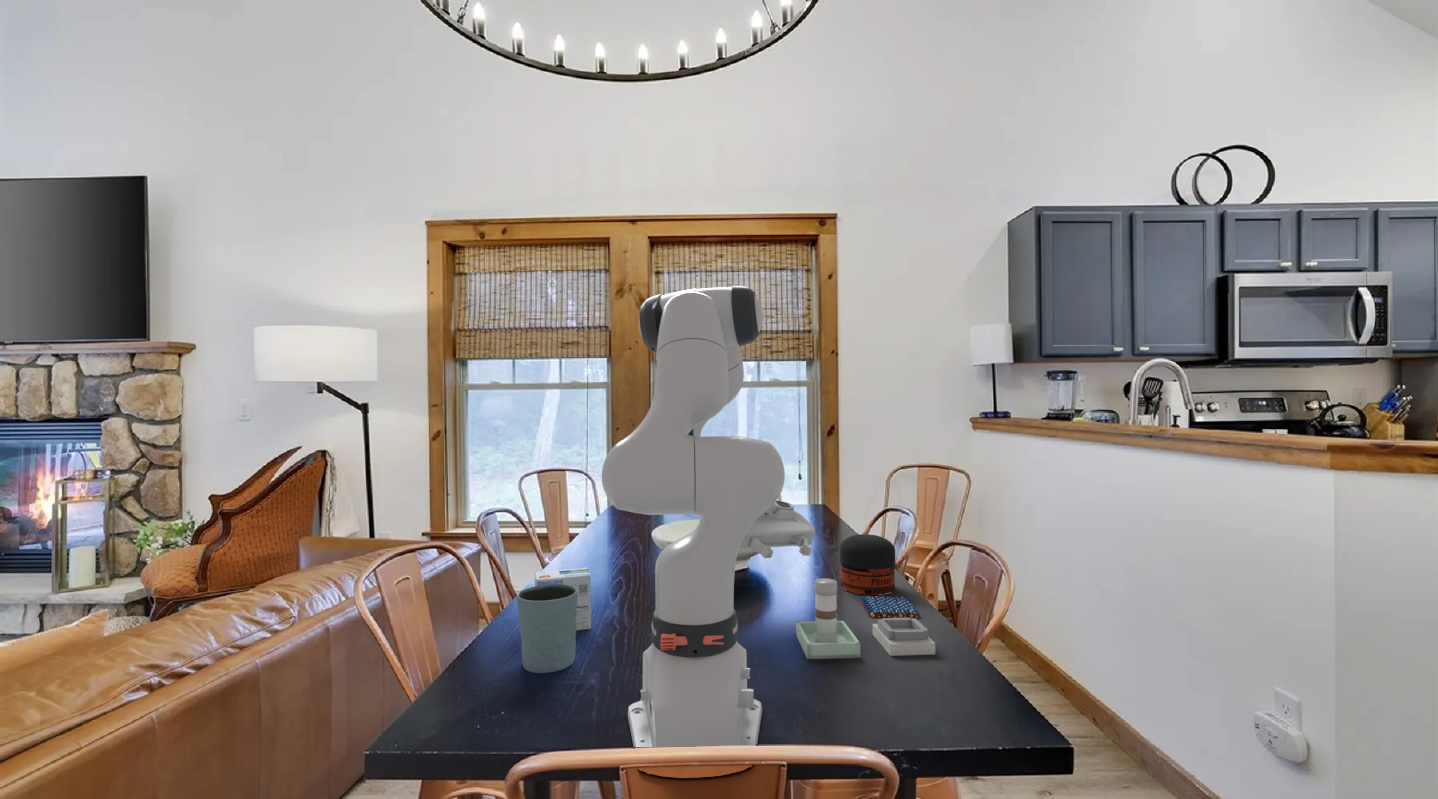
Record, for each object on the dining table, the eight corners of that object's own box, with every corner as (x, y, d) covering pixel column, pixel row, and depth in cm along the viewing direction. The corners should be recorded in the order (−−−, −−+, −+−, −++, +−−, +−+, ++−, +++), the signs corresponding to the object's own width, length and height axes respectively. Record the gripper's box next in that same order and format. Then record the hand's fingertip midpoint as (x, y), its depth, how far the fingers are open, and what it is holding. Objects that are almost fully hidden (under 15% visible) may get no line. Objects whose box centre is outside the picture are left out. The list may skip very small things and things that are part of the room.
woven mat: (921, 620, 123) (921, 610, 123) (869, 620, 124) (869, 610, 124) (908, 604, 134) (908, 595, 134) (860, 603, 134) (860, 594, 134)
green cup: (572, 674, 98) (572, 600, 98) (509, 676, 97) (509, 601, 97) (582, 649, 108) (582, 582, 108) (524, 651, 107) (525, 583, 107)
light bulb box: (588, 618, 124) (588, 566, 125) (591, 629, 118) (591, 574, 118) (534, 624, 121) (534, 570, 121) (535, 636, 115) (535, 579, 115)
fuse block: (935, 654, 105) (935, 634, 105) (890, 655, 104) (889, 635, 104) (913, 633, 115) (913, 614, 115) (872, 634, 114) (872, 615, 114)
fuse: (840, 646, 107) (839, 584, 107) (817, 647, 107) (817, 584, 107) (834, 638, 111) (833, 578, 111) (813, 638, 111) (812, 578, 111)
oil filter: (860, 577, 154) (829, 587, 145) (859, 529, 154) (828, 536, 145) (906, 588, 144) (876, 599, 135) (905, 536, 145) (875, 545, 136)
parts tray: (860, 657, 103) (860, 643, 104) (807, 659, 103) (807, 644, 103) (843, 633, 115) (843, 620, 115) (795, 635, 114) (795, 621, 114)
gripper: (717, 503, 124) (748, 542, 113) (797, 503, 134) (833, 538, 123) (710, 529, 126) (740, 570, 115) (789, 527, 136) (823, 564, 125)
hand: (788, 554), depth 119 cm, fingers open, 8 cm apart
